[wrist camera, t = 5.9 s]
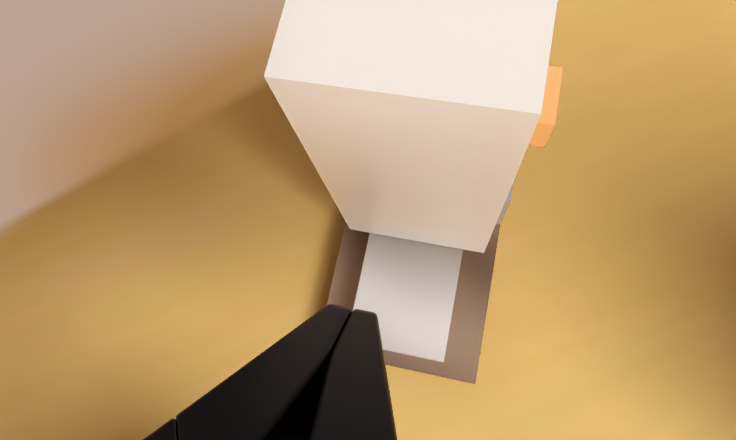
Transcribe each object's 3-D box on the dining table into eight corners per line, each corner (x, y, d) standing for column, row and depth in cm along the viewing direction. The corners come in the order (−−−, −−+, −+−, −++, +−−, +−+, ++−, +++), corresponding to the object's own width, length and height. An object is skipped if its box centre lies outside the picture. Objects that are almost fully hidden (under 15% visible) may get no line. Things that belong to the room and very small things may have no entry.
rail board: (473, 383, 21) (485, 385, 16) (321, 350, 22) (290, 342, 17) (508, 160, 23) (528, 103, 18) (369, 139, 24) (353, 80, 19)
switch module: (500, 256, 20) (577, 119, 9) (349, 229, 21) (263, 76, 10) (514, 166, 21) (600, -54, 10) (369, 144, 22) (308, -78, 11)
